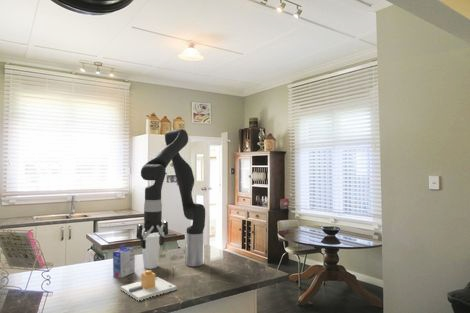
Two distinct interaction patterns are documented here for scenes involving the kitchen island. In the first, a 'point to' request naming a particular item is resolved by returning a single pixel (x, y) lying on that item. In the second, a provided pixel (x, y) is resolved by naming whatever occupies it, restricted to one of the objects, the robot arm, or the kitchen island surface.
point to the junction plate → (148, 289)
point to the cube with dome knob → (148, 279)
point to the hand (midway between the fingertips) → (152, 246)
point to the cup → (151, 251)
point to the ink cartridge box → (123, 262)
